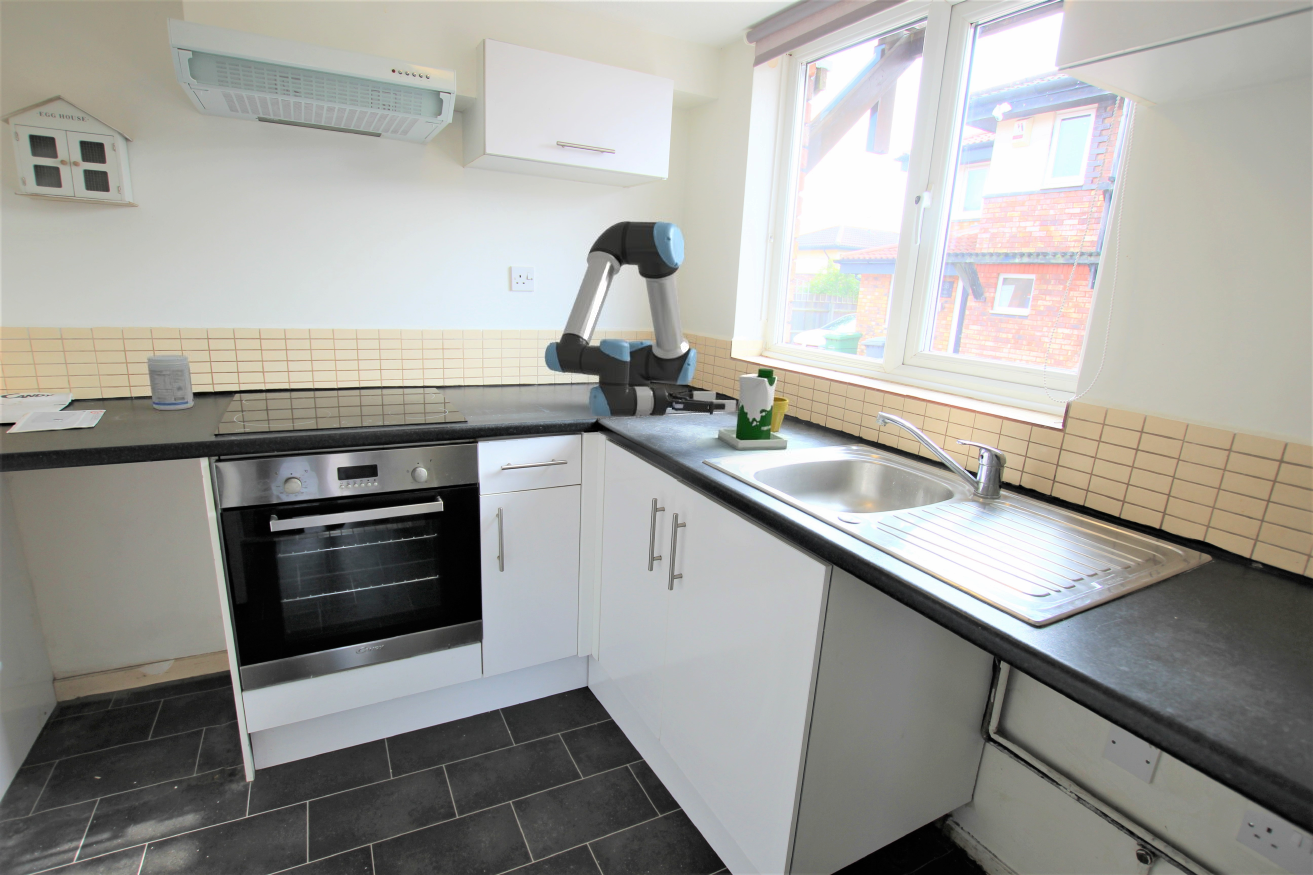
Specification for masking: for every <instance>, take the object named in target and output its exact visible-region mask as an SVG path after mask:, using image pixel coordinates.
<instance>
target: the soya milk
mask: <svg viewBox="0 0 1313 875" xmlns="http://www.w3.org/2000/svg"><path fill="white" fill-rule="evenodd" d="M738 379H739V380H738V382H739V393H738V394H739V395H738V408H737V418H736V428H735V429H736V438H737V439H738V440H740V441H741V440H770V434H771V421H772V411H773V400H774V396H775V390H776V386H777V382H778V376H774V369H772V368H758V371H757V373H750V374H749V373H748V374H743V375H739V376H738Z"/></svg>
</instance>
